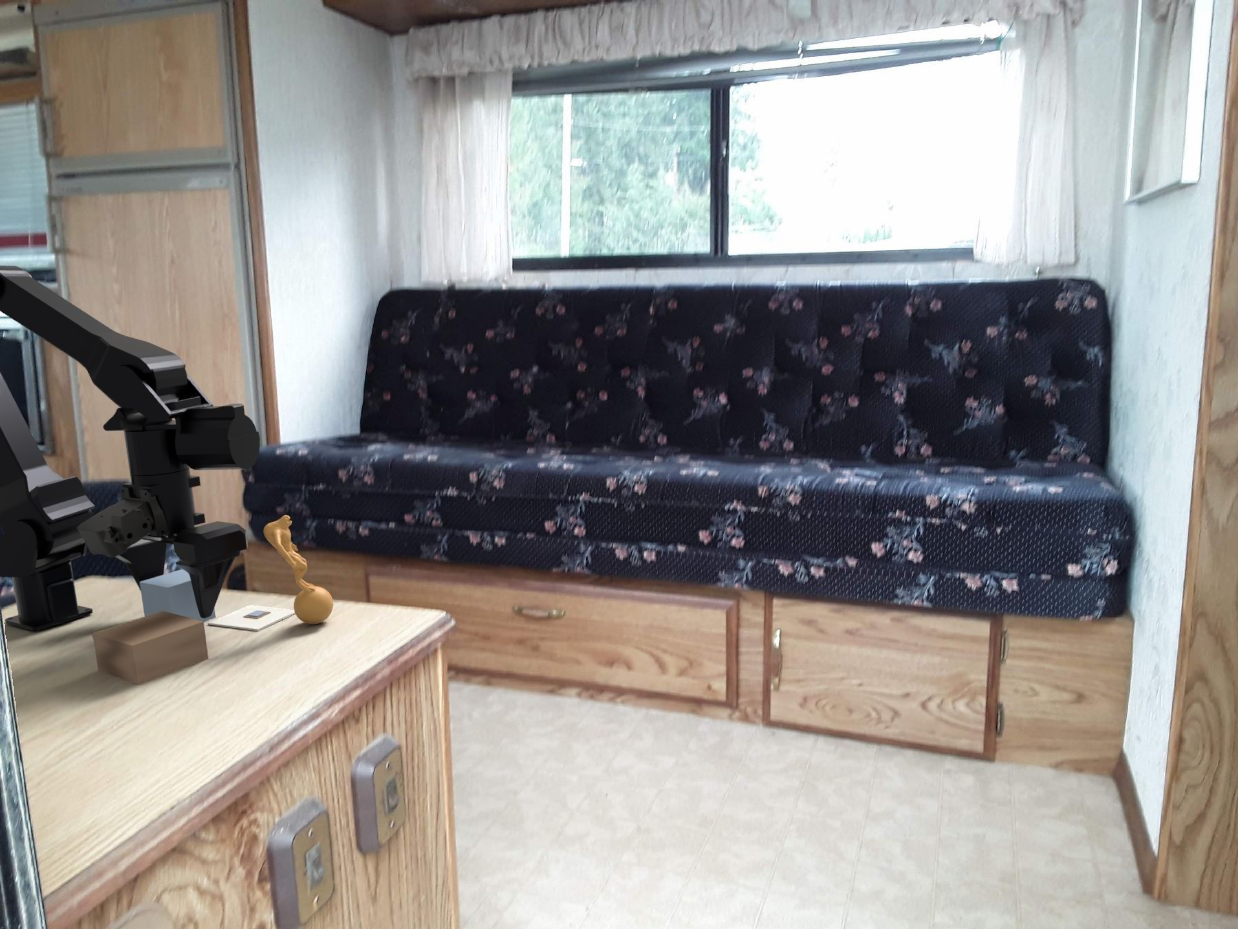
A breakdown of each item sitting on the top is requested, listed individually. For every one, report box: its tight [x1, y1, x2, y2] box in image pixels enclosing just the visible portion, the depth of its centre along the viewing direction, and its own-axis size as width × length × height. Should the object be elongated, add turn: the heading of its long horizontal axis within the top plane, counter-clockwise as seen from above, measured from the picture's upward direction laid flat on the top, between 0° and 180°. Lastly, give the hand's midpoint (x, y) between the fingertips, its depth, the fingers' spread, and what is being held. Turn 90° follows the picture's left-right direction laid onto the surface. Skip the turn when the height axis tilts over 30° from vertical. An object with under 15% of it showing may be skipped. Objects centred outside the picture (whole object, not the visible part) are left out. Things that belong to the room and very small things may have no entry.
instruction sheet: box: [207, 604, 296, 632], centre depth 102 cm, size 7×6×1 cm
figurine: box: [263, 514, 334, 625], centre depth 98 cm, size 8×6×12 cm
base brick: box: [92, 611, 209, 686], centre depth 90 cm, size 7×7×4 cm
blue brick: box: [140, 568, 217, 623], centre depth 102 cm, size 5×5×5 cm
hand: (179, 611), depth 102 cm, fingers open, 9 cm apart
